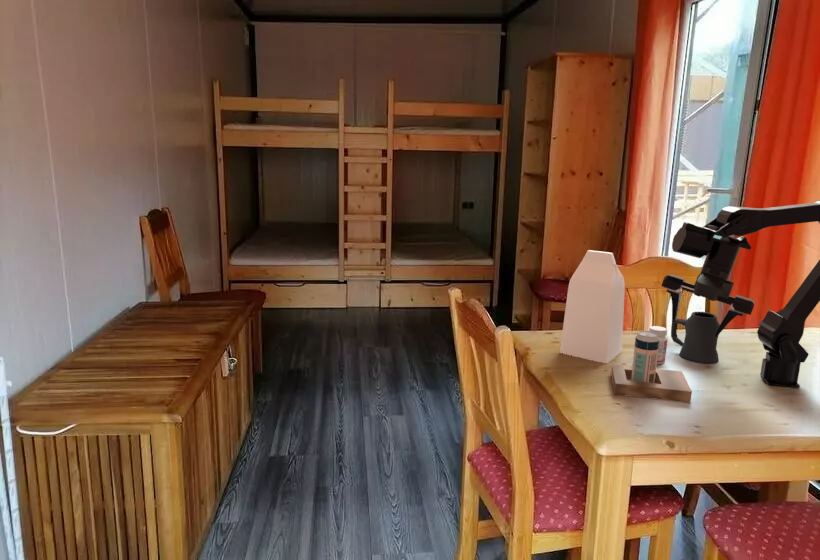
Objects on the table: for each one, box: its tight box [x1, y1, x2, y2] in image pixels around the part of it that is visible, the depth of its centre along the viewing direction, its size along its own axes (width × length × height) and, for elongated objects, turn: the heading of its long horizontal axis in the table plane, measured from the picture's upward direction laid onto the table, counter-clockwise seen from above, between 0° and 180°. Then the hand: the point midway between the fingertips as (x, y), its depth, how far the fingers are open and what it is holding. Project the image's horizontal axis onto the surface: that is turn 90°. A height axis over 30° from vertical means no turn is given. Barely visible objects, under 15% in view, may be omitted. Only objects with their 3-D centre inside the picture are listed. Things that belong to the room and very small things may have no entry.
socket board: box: [610, 364, 693, 404], centre depth 136 cm, size 15×12×2 cm
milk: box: [559, 249, 626, 364], centre depth 156 cm, size 12×12×26 cm
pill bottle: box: [648, 325, 668, 365], centre depth 152 cm, size 5×5×8 cm
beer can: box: [631, 330, 659, 383], centre depth 135 cm, size 5×5×12 cm
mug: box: [670, 311, 721, 365], centre depth 156 cm, size 12×9×11 cm
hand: (693, 329), depth 140 cm, fingers open, 9 cm apart
